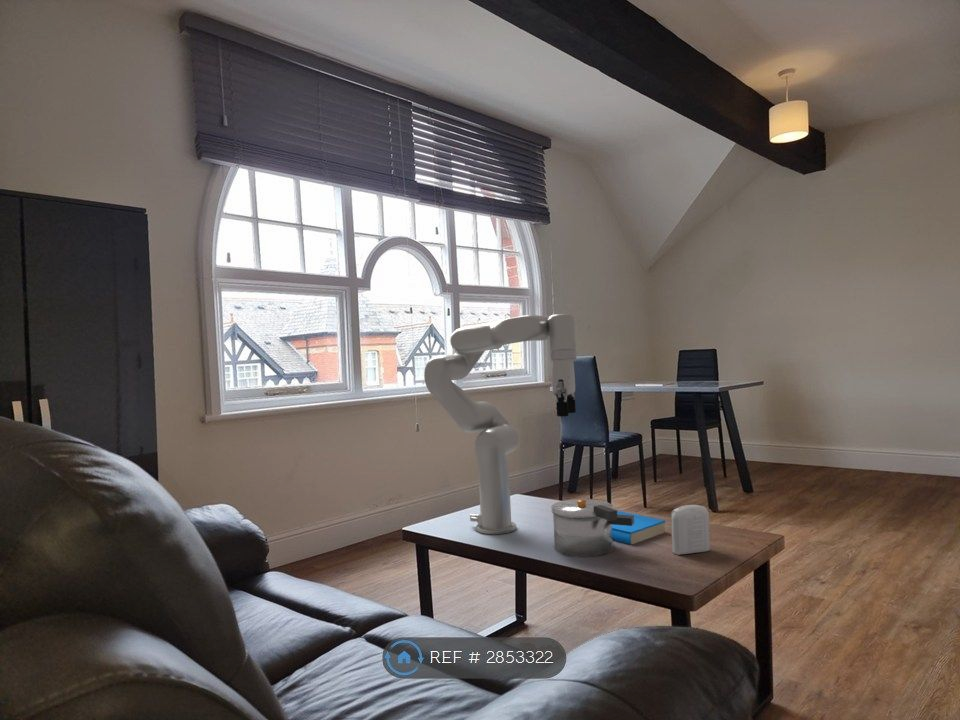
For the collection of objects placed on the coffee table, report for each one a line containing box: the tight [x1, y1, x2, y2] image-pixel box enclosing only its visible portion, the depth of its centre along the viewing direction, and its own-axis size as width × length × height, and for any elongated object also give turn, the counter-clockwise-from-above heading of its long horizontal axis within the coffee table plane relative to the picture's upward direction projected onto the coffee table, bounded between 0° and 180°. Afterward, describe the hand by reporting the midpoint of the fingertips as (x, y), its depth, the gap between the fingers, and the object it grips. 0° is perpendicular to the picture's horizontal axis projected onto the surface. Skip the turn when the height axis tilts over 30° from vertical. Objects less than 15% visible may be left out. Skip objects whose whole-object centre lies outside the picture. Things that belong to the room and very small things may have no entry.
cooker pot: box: [552, 513, 634, 558], centre depth 176 cm, size 22×16×10 cm
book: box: [612, 510, 666, 545], centre depth 193 cm, size 17×4×25 cm
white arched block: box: [670, 504, 711, 556], centre depth 170 cm, size 10×4×12 cm, turn 106°
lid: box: [551, 498, 618, 521], centre depth 174 cm, size 23×17×3 cm
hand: (566, 414), depth 187 cm, fingers open, 9 cm apart
